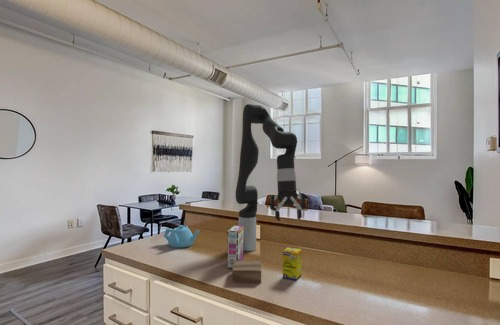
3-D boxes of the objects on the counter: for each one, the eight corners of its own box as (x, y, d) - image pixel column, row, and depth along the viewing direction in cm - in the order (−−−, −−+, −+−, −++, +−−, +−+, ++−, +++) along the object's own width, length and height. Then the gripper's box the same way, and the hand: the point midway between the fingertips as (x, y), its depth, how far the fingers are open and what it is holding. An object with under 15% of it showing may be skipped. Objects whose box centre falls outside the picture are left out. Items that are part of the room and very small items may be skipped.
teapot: (188, 239, 173) (188, 221, 173) (200, 245, 161) (200, 225, 161) (162, 244, 163) (162, 225, 163) (173, 250, 151) (173, 230, 151)
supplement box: (282, 278, 116) (282, 250, 116) (287, 273, 121) (287, 246, 121) (296, 281, 113) (296, 253, 113) (301, 275, 118) (301, 248, 118)
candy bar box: (238, 269, 125) (238, 231, 125) (226, 268, 126) (226, 230, 126) (243, 260, 136) (243, 225, 136) (233, 259, 137) (233, 225, 137)
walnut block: (234, 272, 123) (234, 260, 123) (260, 272, 122) (260, 260, 122) (232, 283, 112) (232, 270, 112) (261, 283, 111) (261, 270, 111)
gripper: (300, 179, 124) (302, 218, 123) (267, 180, 122) (269, 220, 121) (306, 179, 117) (308, 220, 115) (271, 180, 115) (273, 222, 113)
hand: (288, 220), depth 118 cm, fingers open, 8 cm apart
